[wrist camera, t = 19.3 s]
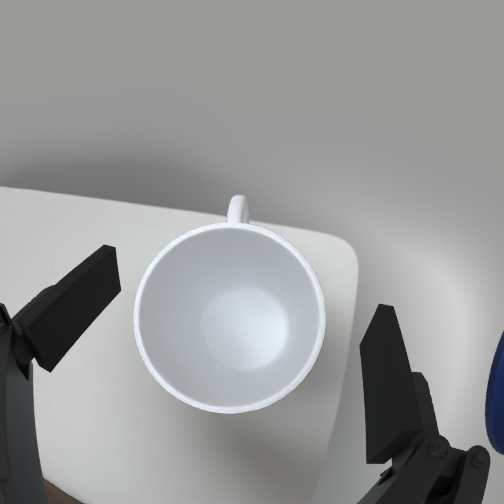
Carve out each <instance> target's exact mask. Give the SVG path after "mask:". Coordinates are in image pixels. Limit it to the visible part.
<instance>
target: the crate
mask: <svg viewBox="0 0 504 504" xmlns="http://www.w3.org/2000/svg"><path fill="white" fill-rule="evenodd" d="M43 480H44V485H45V489H46V494H47V498H48V501H49V503H50V504H83V503H81V502H79V501H78V500H76V499H74V498H73V497H71V496H69V495H68V494H66V493H65V492H63V491H61V490H60V489H58V488H57V487H55V486H54V485H52V484H51V483H49V482H48V481H46V480H45V479H44V478H43Z"/></svg>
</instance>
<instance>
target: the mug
mask: <svg viewBox="0 0 504 504" xmlns="http://www.w3.org/2000/svg"><path fill="white" fill-rule="evenodd" d="M325 328H326V308H325V301H324V296H323V292H322V289H321V286H320V283H319V281H318V279H317V277H316V275H315V273H314V271H313V269H312V267H311V266H310V264H309V263H308V262H307V260H306V259H305V258H304V257H303V255H302V254H301V253H300V252H299V251H298V250H297V249H296V248H295V247H294V246H293V245H291V244H290V243H289V242H288V241H286V240H285V239H283V238H282V237H280V236H278V235H277V234H275V233H273V232H271V231H269V230H266V229H264V228H261V227H258V226H254V225H250V224H249V210H248V202H247V199H246V197H245V196H243V195H236V196H234V197H233V198H232V199H231V201H230V204H229V208H228V214H227V220H226V223H216V224H210V225H206V226H202V227H199V228H196V229H194V230H191V231H189V232H187V233H185V234H183V235H181V236H180V237H178V238H176V239H175V240H174V241H172V242H171V243H170V244H168V245H167V246H166V247H165V248H164V249H163V250H162V251H161V252H160V253H159V254H158V255H157V256H156V257H155V259H154V260H153V261H152V262H151V264H150V265H149V267H148V268H147V270H146V272H145V274H144V276H143V278H142V280H141V282H140V285H139V288H138V291H137V294H136V299H135V304H134V332H135V337H136V342H137V345H138V348H139V351H140V354H141V356H142V358H143V360H144V362H145V364H146V366H147V368H148V369H149V371H150V372H151V374H152V375H153V376H154V378H155V379H156V380H157V381H158V382H159V383H160V384H161V385H162V386H163V387H164V388H165V389H166V390H167V391H168V392H169V393H171V394H172V395H173V396H175V397H176V398H178V399H179V400H181V401H183V402H185V403H187V404H189V405H191V406H193V407H196V408H199V409H202V410H206V411H210V412H216V413H227V414H232V413H244V412H249V411H254V410H257V409H261V408H263V407H266V406H268V405H271V404H273V403H275V402H276V401H278V400H280V399H282V398H283V397H285V396H286V395H287V394H289V393H290V392H291V391H292V390H294V389H295V388H296V387H297V386H298V385H299V384H300V383H301V382H302V380H303V379H304V378H305V377H306V376H307V374H308V373H309V371H310V370H311V368H312V367H313V365H314V363H315V361H316V359H317V357H318V355H319V352H320V350H321V347H322V343H323V340H324V335H325Z"/></svg>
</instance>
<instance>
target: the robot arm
mask: <svg viewBox="0 0 504 504" xmlns="http://www.w3.org/2000/svg"><path fill="white" fill-rule="evenodd" d="M120 291H121V286H120V280H119V272H118V265H117V256H116V247H112V246H108V245H103V246H102V247H100V248H99V249H98V250H97V251H95V252H94V253H93V254H92V255H90V256H89V257H88V258H87V259H85V260H84V261H83V262H82V263H80V264H79V265H78V266H77V267H75V268H74V269H73V270H72V271H71V272H69V273H68V274H67V275H66V276H65V277H64V278H62V279H61V280H60V281H59V282H58V283H57V284H55V285H52V286H50V287H48V288H46V289H44V290H42V291H41V292H40V293H39V294H38V295H37V296H36V297H34V298H33V299H32V300H31V302H29V303H28V304H27V305H26V306H24V307H23V308H22V309H21V310H20V311H19V312H18V313H17V314H16V315H15V316H14V317H13V318H12V319H11V318H10V316H9V314H8V311H7V309H6V307H5V305H4V304H2V303H0V504H50V503H49V501H48V498H47V494H46V489H45V485H44V480H43V475H42V470H41V465H40V459H39V452H38V445H37V437H36V427H35V416H34V398H33V364H32V362H31V360H32V359H33V358H34V357H35V359H36V361H37V363H38V365H39V366H40V367H42V368H43V369H45V370H47V371H48V372H50V373H51V371H52V370H53V369H54V368H55V366H56V365H57V364H58V363H59V361H60V360H61V359H62V358H63V357H64V355H65V354H66V353H67V352H68V351H69V349H70V348H71V347H72V346H73V345H74V343H75V342H76V341H77V340H78V339H79V337H80V336H81V335H82V334H83V333H84V332H85V331H86V329H87V328H88V327H89V326H90V325H91V324H92V322H93V321H94V320H95V319H96V318H97V317H98V316H99V315H100V313H101V312H102V311H103V310H104V309H105V308H106V307H107V306H108V305H109V303H110V302H111V301H112V300H113V299H114V298H115V297H116V296H117V295H118V294H119V293H120ZM360 355H361V364H362V376H363V389H364V403H365V423H366V463H367V464H384V463H386V462H387V461H388V460H389V459H391V458H392V466H391V467H390V468H388V469H387V470H386V471H384V472H383V473H382V474H380V476H381V478H380V479H379V481H378V482H377V483H376V484H375V485H374V486H373V487H372V488H371V490H370V491H369V492H368V493H367V494H366V495H365V496H364V497H363V498H362V499H361V500H360V501H359V502H358V503H357V504H481V503H482V500H483V496H484V491H485V487H486V483H487V478H488V473H489V468H490V455H489V452H488V451H487V450H486V448H484V447H482V446H479V445H476V446H473V447H471V448H470V449H469V450H468V451H464V450H460V449H456V448H452V447H451V446H450V444H449V442H448V440H447V439H446V438H445V437H443V436H441V435H439V431H438V427H437V421H436V416H435V412H434V407H433V403H432V398H431V395H430V390H429V386H428V382H427V381H426V379H425V378H424V376H423V375H422V373H420V372H411V369H410V364H409V360H408V356H407V352H406V348H405V345H404V341H403V338H402V334H401V330H400V327H399V323H398V320H397V316H396V313H395V310H394V307H393V306H389V305H383V304H379V305H378V307H377V309H376V312H375V314H374V316H373V318H372V320H371V323H370V325H369V327H368V329H367V331H366V333H365V336H364V338H363V339H362V342H361V344H360Z"/></svg>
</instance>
